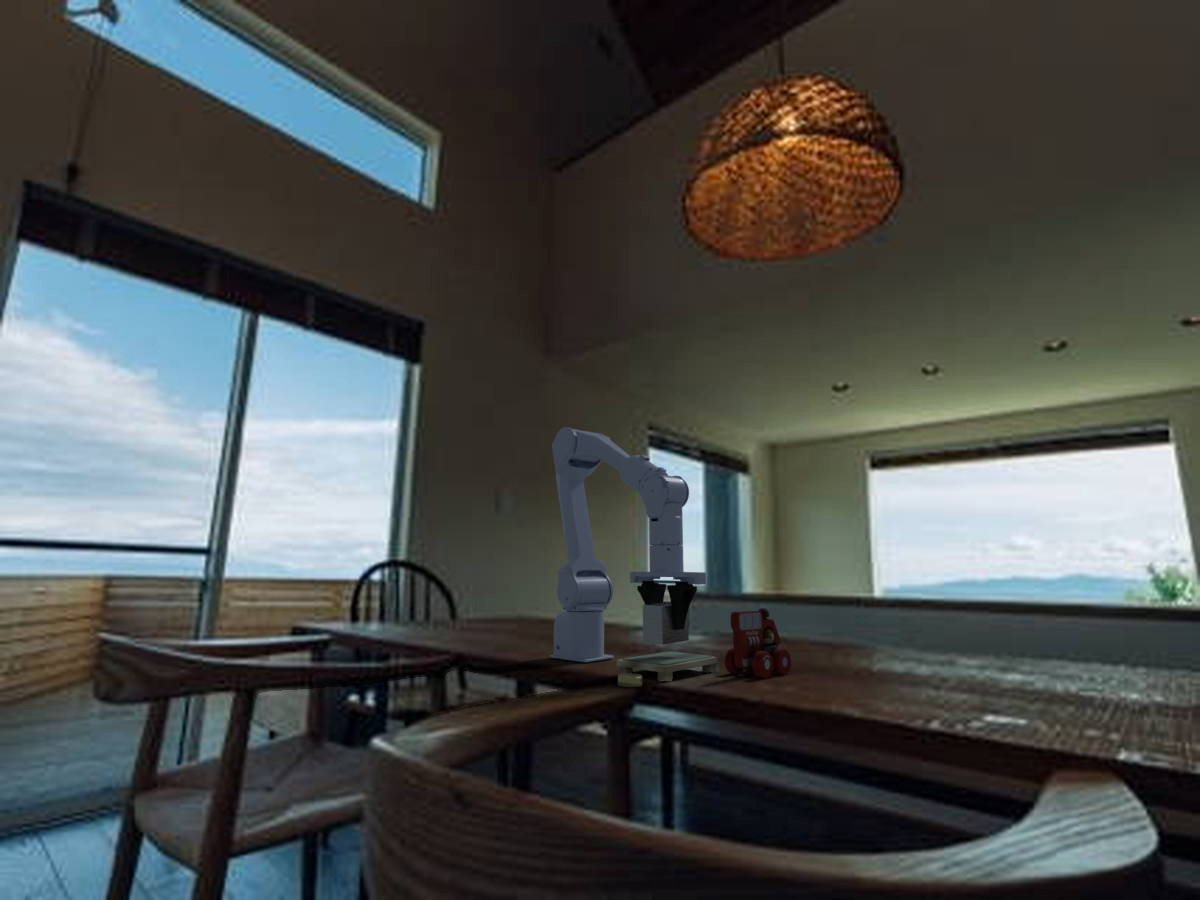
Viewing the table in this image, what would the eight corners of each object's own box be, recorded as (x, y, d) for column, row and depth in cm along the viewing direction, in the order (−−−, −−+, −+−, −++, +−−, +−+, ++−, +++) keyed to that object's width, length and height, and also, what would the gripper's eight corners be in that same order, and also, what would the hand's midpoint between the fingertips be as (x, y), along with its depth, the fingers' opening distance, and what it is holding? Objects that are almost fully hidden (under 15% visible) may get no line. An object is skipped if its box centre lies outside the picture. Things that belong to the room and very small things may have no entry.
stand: (616, 674, 105) (616, 658, 105) (669, 665, 115) (669, 650, 115) (666, 682, 98) (666, 665, 98) (717, 671, 108) (717, 655, 108)
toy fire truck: (798, 672, 108) (795, 608, 109) (755, 681, 99) (752, 611, 101) (762, 667, 113) (760, 606, 114) (718, 675, 104) (716, 609, 106)
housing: (643, 642, 106) (642, 602, 107) (669, 638, 111) (668, 600, 112) (662, 644, 103) (661, 604, 104) (688, 640, 108) (687, 601, 109)
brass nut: (612, 686, 96) (612, 675, 96) (628, 683, 99) (628, 672, 99) (631, 689, 94) (631, 678, 94) (647, 686, 96) (647, 675, 97)
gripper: (618, 545, 112) (618, 627, 109) (687, 544, 102) (689, 633, 100) (644, 546, 117) (645, 624, 115) (712, 545, 107) (714, 629, 105)
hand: (667, 628), depth 107 cm, fingers closed on housing, 4 cm apart
